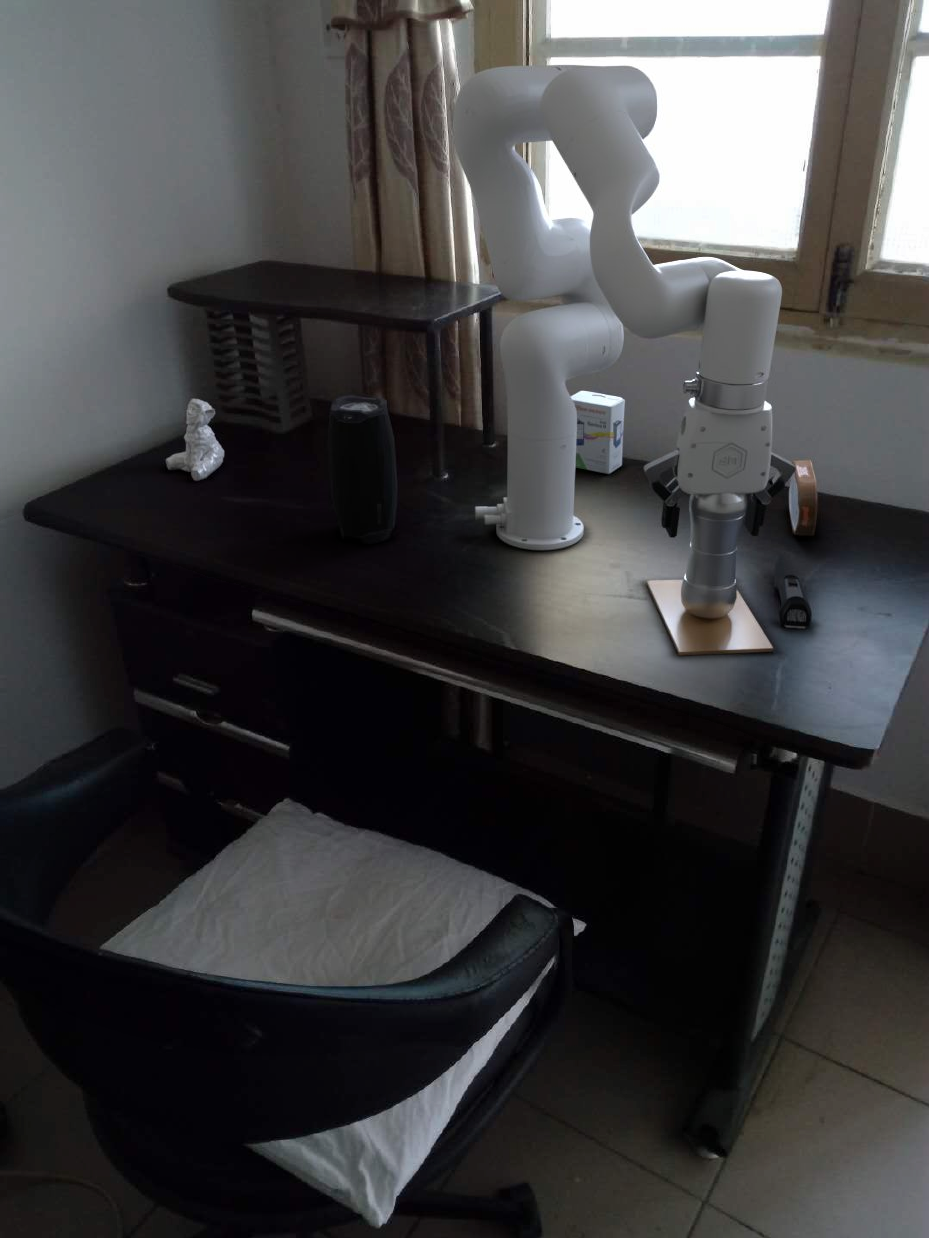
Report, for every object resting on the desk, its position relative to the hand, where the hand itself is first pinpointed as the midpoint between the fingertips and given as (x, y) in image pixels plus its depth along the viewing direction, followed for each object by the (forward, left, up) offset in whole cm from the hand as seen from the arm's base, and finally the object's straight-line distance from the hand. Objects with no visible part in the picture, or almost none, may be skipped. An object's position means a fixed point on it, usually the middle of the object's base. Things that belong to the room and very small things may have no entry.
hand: (710, 531), depth 119 cm
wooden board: (0, -1, -11) cm, 11 cm away
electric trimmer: (+12, +3, -11) cm, 17 cm away
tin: (+21, +25, -11) cm, 35 cm away
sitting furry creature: (-71, +56, -11) cm, 91 cm away
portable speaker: (-42, +27, -11) cm, 51 cm away
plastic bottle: (0, -1, -11) cm, 11 cm away
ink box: (-5, +51, -11) cm, 53 cm away
